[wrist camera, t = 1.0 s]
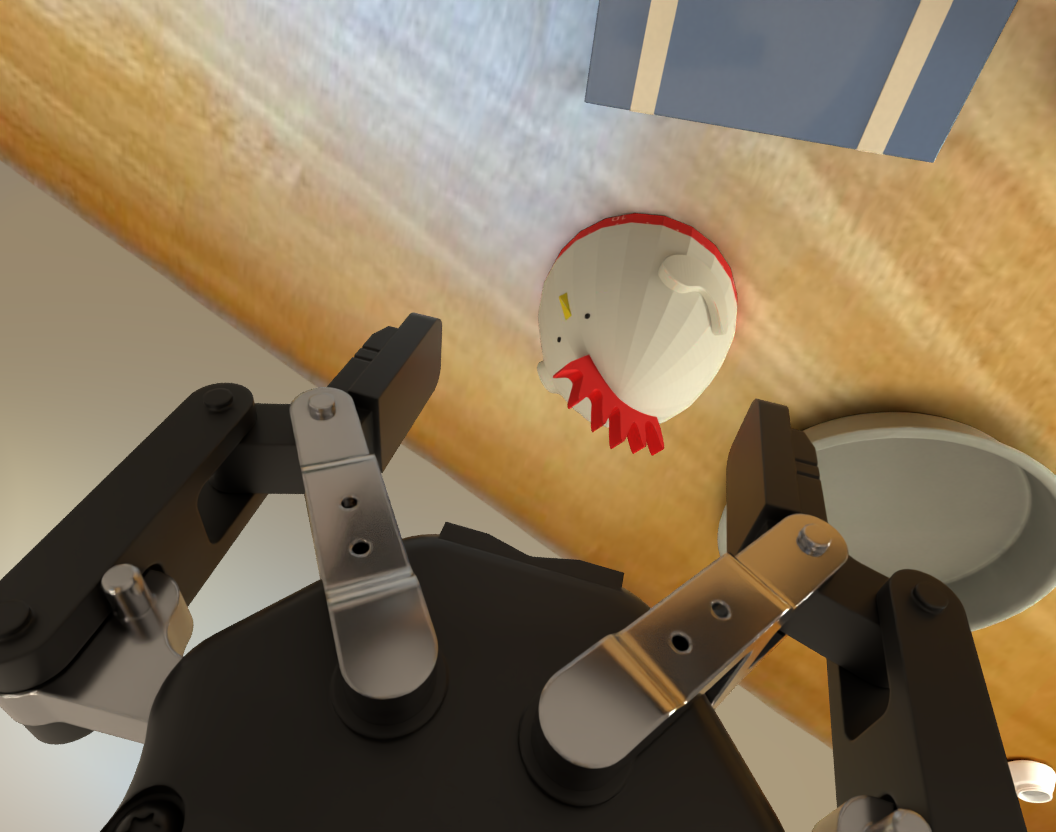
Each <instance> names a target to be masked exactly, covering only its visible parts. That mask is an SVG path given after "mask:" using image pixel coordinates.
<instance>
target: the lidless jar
mask: <svg viewBox="0 0 1056 832" xmlns="http://www.w3.org/2000/svg"><path fill="white" fill-rule="evenodd" d="M1008 765H1009V768H1010V772H1011V776H1012V779H1013V783H1014V786H1015V790H1016V793H1017V796H1018V797H1019V798H1020V799H1022V800H1024V801H1027V802H1033V803H1043V802H1048V801H1050V800H1051V799H1052V793H1053V790H1054V786H1055V780H1056V774H1055V772H1054V771H1053V769H1052V768H1051V767H1049V766H1047V765H1045V764H1042V763H1038V762H1034V761H1028V760H1015V761H1011V762H1008Z"/></svg>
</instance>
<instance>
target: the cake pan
mask: <svg viewBox="0 0 1056 832" xmlns="http://www.w3.org/2000/svg"><path fill="white" fill-rule="evenodd" d="M803 432H805V434H806V435H807V437H808V438H809V440H810V441H811V443H812V444H813V445H814V447H815V449H816V455H817V461H818V465H817V467H819V473H820V479H819V480H821V484H822V490H823V496H824V502H825V508H826V514H827V519H828V524H830V525H831V526H832V527H834V528H835V529H836V530H837V531H838V532H839V533H840V534H841V536H842V537H843V538H844V540H845V542H846V544H847V547H848V551H849V554H848V555H850V556H851V557H852V558H854V559H855V560H857V561H858V562H860V563H862V564H864V565H866V566H868V567H869V568H871V569H873V570H875V571H877V572H879V573H881V574H883V575H885V576H887V577H889V578H890V577H891V576H892V575H893V574H894V573H895V572H896V571H898V570H902V569H914V570H918V571H922V572H924V573H927V574H929V575H931V576H933V577H935V578H937V579H938V580H940V581H941V582H942V583H944V584H945V585H946V586H948V587H949V588H950V589H951V590H952V591H953V592H954V593H955V594H956V596H957V597H958V598H959V600H960V601H961V603H962V605H963V607H964V609H965V612H966V615H967V619H968V623H969V626H970V630H971V632H972V631H975V630H978V629H982V628H985V627H988V626H990V625H993V624H996V623H998V622H1001V621H1003V620H1006V619H1008V618H1010V617H1012V616H1014V615H1016V614H1018V613H1020V612H1022V611H1024V610H1025V609H1027V608H1029V607H1030V606H1032V605H1034V604H1035V603H1037V602H1038V601H1039V600H1041V599H1042V598H1043V597H1045V596H1046V595H1047V594H1048V593H1049V592H1051V591H1052V590H1053V589H1054V588H1055V587H1056V475H1055V474H1053V473H1052V472H1051V471H1050V470H1049V469H1048V468H1046V467H1045V466H1044V465H1042V464H1041V463H1039V462H1038V461H1036V460H1034V459H1033V458H1031V457H1030V456H1028V455H1027V454H1025V453H1023V452H1021V451H1019V450H1017V449H1015V448H1012V447H1010V446H1008V445H1006V444H1003V443H1000V442H998V441H997V440H996V439H994V438H993V437H991V436H989V435H987V434H986V433H984V432H982V431H980V430H978V429H976V428H973V427H971V426H969V425H966V424H963V423H960V422H957V421H954V420H951V419H947V418H943V417H938V416H933V415H926V414H920V413H908V412H878V413H865V414H858V415H852V416H847V417H842V418H838V419H834V420H830V421H827V422H824V423H821V424H818V425H815V426H812V427H810V428H808V429H805V430H803ZM718 549H719V553H720V557H721V556H722V555H723V554H725V553H727V511H726V506H725V509H724V511H723V513H722V516H721V519H720V523H719V528H718Z"/></svg>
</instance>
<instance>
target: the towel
mask: <svg viewBox="0 0 1056 832" xmlns="http://www.w3.org/2000/svg"><path fill="white" fill-rule="evenodd" d="M1017 1H1018V0H599V6H598V13H597V20H596V27H595V34H594V40H593V47H592V54H591V61H590V68H589V74H588V81H587V88H586V95H585V102H586V103H591V104H597V105H603V106H609V107H614V108H620V109H626V110H630V111H634V112H639V113H645V114H651V115H654V114H655V115H660V116H666V117H672V118H678V119H683V120H689V121H695V122H701V123H706V124H712V125H718V126H724V127H730V128H735V129H741V130H747V131H753V132H758V133H764V134H770V135H776V136H781V137H787V138H793V139H799V140H804V141H810V142H816V143H822V144H828V145H833V146H839V147H845V148H851V149H856V150H858V151H864V152H870V153H875V154H881V155H882V154H885V155H891V156H897V157H902V158H908V159H914V160H920V161H925V162H931V163H933V162H934V161H935V159H936V157H937V155H938V153H939V151H940V149H941V147H942V145H943V143H944V142H945V140H946V138H947V136H948V134H949V132H950V130H951V128H952V126H953V124H954V122H955V120H956V119H957V117H958V115H959V113H960V111H961V109H962V107H963V105H964V103H965V101H966V99H967V97H968V95H969V94H970V92H971V90H972V88H973V86H974V84H975V82H976V80H977V78H978V76H979V74H980V72H981V70H982V69H983V67H984V65H985V63H986V61H987V59H988V57H989V55H990V53H991V51H992V49H993V47H994V45H995V44H996V42H997V40H998V38H999V36H1000V34H1001V32H1002V30H1003V28H1004V26H1005V24H1006V22H1007V21H1008V19H1009V17H1010V15H1011V13H1012V11H1013V9H1014V7H1015V5H1016V3H1017Z"/></svg>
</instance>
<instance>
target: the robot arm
mask: <svg viewBox="0 0 1056 832" xmlns="http://www.w3.org/2000/svg"><path fill="white" fill-rule="evenodd" d="M441 344H442V322H441V320H440V319H438V318H434V317H429V316H425V315H421V314H417V313H411V314H410V315H409V316H408V317H407V318H406V319H405V321H404V322H403V323H402V324H401V326H400V327H399V328H394V327H391V326H388V327H386V328H384V329H382V330H380V331H378V332H376V333H374V334H372V335H371V337H370V338H369V339H368V340H367V341H366V342H365V343H364V345H363V346H362V348H360V349H359V350H358V352H357V353H356V354H355V356H354V358H353V357H352V358H351V360H350V361H349V362H348V363H347V364H346V365H345V367H344V368H343V369H342V370H341V371H340V372H339V373H338V375H337V376H336V377H335V378H334V379H333V380H332V382H331V383H330V384H329V385H328V386H327V387H321V388H315V389H311V390H307V391H305V392H303V393H301V394H299V395H298V396H297V397H295V398H294V400H293V401H292V402H291V404H261V403H254V399H253V395H252V393H251V392H250V391H249V389H247V388H246V387H244V386H242V385H238V384H234V383H217V384H212V385H208V386H205V387H203V388H200V389H198V390H196V391H195V392H193V393H192V394H191V395H190V396H189V397H188V398H187V399H186V400H185V401H184V402H183V403H182V404H180V405H179V406H178V408H176V409H175V410H174V411H173V412H172V413H171V414H170V415H169V416H168V417H167V418H166V419H165V420H164V421H163V422H162V423H161V424H160V425H159V426H158V427H157V428H156V429H155V430H154V431H153V432H152V433H151V434H150V435H149V436H148V437H147V438H146V439H145V440H144V441H143V442H142V443H141V444H140V445H138V446H137V448H135V449H134V450H133V452H131V453H130V454H129V455H128V457H126V458H125V459H124V460H123V461H122V462H121V463H120V464H119V465H118V466H117V467H116V468H115V469H114V470H113V471H112V472H111V473H110V474H109V475H108V476H107V477H106V478H105V479H104V480H103V481H102V482H101V483H100V484H99V485H98V486H96V488H95V489H93V490H92V492H90V493H89V494H88V495H87V496H86V497H85V498H84V499H83V500H82V501H81V502H80V503H79V504H78V505H77V506H76V507H75V508H74V509H73V510H72V511H71V512H70V513H69V514H68V515H67V516H66V517H65V518H64V519H63V520H62V521H61V522H60V523H59V524H58V525H57V526H56V527H55V528H53V529H52V530H51V531H50V532H49V533H48V534H47V535H46V536H45V537H44V538H43V539H42V540H41V541H40V542H39V543H38V544H37V545H36V546H35V547H34V548H33V549H32V550H31V551H30V552H29V553H28V554H27V555H26V556H25V557H24V558H23V559H22V560H21V561H20V562H19V563H18V564H17V565H16V566H15V567H14V568H13V569H11V570H10V571H9V572H8V573H7V574H6V575H5V576H4V577H3V578H2V579H1V580H0V707H1V708H2V709H3V710H4V711H5V712H6V713H7V714H8V715H9V716H10V717H11V718H13V720H15V721H16V722H18V723H20V724H23V725H24V726H25V727H26V728H27V729H28V730H29V731H30V732H31V733H32V734H33V735H34V736H35V737H36V738H37V739H38V740H40V741H42V742H44V743H48V744H65V743H69V742H73V741H75V740H78V739H80V738H83V737H85V736H87V735H88V734H90V733H92V732H93V731H98V732H102V733H106V734H109V735H113V736H116V737H121V738H124V739H128V740H131V741H135V742H139V743H143V744H144V747H143V750H142V754H141V758H140V761H139V764H138V767H137V769H136V772H135V775H134V778H133V780H132V782H131V784H130V786H129V789H128V791H127V793H126V795H125V797H124V799H123V801H122V803H121V804H120V806H119V808H118V809H117V811H116V812H115V813H114V815H113V816H112V818H111V819H110V820H109V821H108V823H107V824H106V825H105V826H104V827H103V829H102V830H101V831H100V832H785V831H784V829H783V827H782V825H781V823H780V821H779V819H778V817H777V816H776V814H775V812H774V810H773V809H772V807H771V805H770V804H769V802H768V800H767V799H766V797H765V795H764V794H763V792H762V790H761V788H760V787H759V785H758V783H757V782H756V780H755V778H754V777H753V775H752V773H751V772H750V770H749V768H748V766H747V765H746V763H745V761H744V760H743V758H742V756H741V754H740V753H739V751H738V750H737V748H736V746H735V744H734V743H733V741H732V739H731V738H730V736H729V734H728V733H727V731H726V729H725V728H724V726H723V724H722V722H721V721H720V719H719V717H718V716H717V714H716V712H715V709H716V708H717V706H718V705H719V704H720V703H721V702H722V701H723V700H724V699H725V698H726V697H727V696H728V695H729V694H730V692H731V691H732V690H733V689H734V688H735V686H737V685H738V683H739V682H740V681H741V680H742V679H743V678H744V677H745V676H747V675H748V674H749V673H750V672H751V671H752V670H753V669H754V668H755V667H756V666H757V665H758V664H759V663H760V662H761V661H762V660H763V659H764V658H765V657H766V656H767V655H768V654H769V653H770V652H772V651H773V650H774V649H775V648H776V647H777V646H778V645H779V644H780V643H781V642H782V641H783V640H784V639H785V638H786V637H787V636H790V637H792V638H793V639H795V640H797V641H798V642H800V643H802V644H804V645H805V646H807V647H809V648H810V649H812V650H814V651H815V652H817V653H819V654H820V655H822V656H824V657H826V658H827V672H828V687H829V701H830V715H831V729H832V743H833V757H834V771H835V785H836V800H837V809H836V810H834V811H833V812H831V813H830V814H828V815H827V816H826V817H824V818H823V819H821V820H820V821H819V822H818V823H817V824H816V825H815V826H814V828H813V830H812V832H1027V829H1026V825H1025V822H1024V818H1023V815H1022V811H1021V808H1020V804H1019V800H1018V797H1017V793H1016V790H1015V786H1014V783H1013V779H1012V776H1011V772H1010V768H1009V765H1008V761H1007V758H1006V754H1005V751H1004V747H1003V744H1002V740H1001V736H1000V733H999V729H998V726H997V722H996V719H995V715H994V712H993V708H992V704H991V701H990V697H989V694H988V690H987V687H986V683H985V679H984V676H983V672H982V669H981V665H980V662H979V658H978V655H977V651H976V647H975V644H974V640H973V637H972V633H971V630H970V626H969V623H968V619H967V615H966V612H965V609H964V607H963V605H962V603H961V601H960V600H959V598H958V597H957V596H956V594H955V593H954V592H953V591H952V590H951V589H950V588H949V587H948V586H946V585H945V584H944V583H942V582H941V581H940V580H938V579H937V578H935V577H933V576H931V575H929V574H927V573H924V572H922V571H918V570H914V569H902V570H898V571H896V572H895V573H894V574H893V575H892V576H891V577H890V578H889V577H887V576H885V575H883V574H881V573H879V572H877V571H875V570H873V569H871V568H869V567H868V566H866V565H864V564H862V563H860V562H858V561H857V560H855V559H854V558H852V557H851V556H850V555H848V554H849V551H848V547H847V544H846V542H845V540H844V538H843V537H842V536H841V534H840V533H839V532H838V531H837V530H836V529H835V528H834V527H832V526H831V525H830V524H828V519H827V514H826V508H825V502H824V496H823V490H822V484H821V480H819V479H820V473H819V467H817V465H818V461H817V455H816V449H815V447H814V445H813V444H812V443H811V441H810V440H809V438H808V437H807V435H806V434H805V432H803V431H799V430H795V429H791V424H790V416H789V409H788V407H787V406H784V405H780V404H776V403H772V402H768V401H764V400H760V399H755V400H754V401H753V402H752V404H751V406H750V408H749V410H748V412H747V414H746V416H745V418H744V421H743V423H742V425H741V427H740V429H739V431H738V433H737V435H736V437H735V440H734V442H733V444H732V446H731V449H730V452H729V456H728V460H727V469H726V511H727V553H725V554H723V555H722V556H721V557H719V558H718V559H716V560H715V561H714V562H712V563H711V564H710V565H708V566H707V567H706V568H704V569H703V570H702V571H700V572H699V573H698V574H696V575H695V576H694V577H692V578H691V579H690V580H688V581H687V582H686V583H684V584H683V585H682V586H680V587H679V588H678V589H676V590H675V591H674V592H672V593H671V594H670V595H669V596H667V597H666V598H665V599H663V600H662V601H661V602H659V603H658V604H657V605H655V606H654V607H653V608H650V607H649V606H648V605H647V604H645V603H644V602H643V601H642V600H641V599H640V598H638V597H637V596H635V595H634V594H633V593H631V592H630V591H628V590H626V589H624V588H623V587H622V583H623V576H624V573H623V572H619V571H616V570H612V569H609V568H605V567H602V566H598V565H595V564H591V563H588V562H585V561H581V560H572V559H557V558H542V557H532V556H529V555H526V554H524V553H523V552H521V551H519V550H517V549H515V548H513V547H512V546H510V545H508V544H506V543H504V542H502V541H501V540H499V539H497V538H495V537H493V536H491V535H490V534H487V533H483V532H480V531H476V530H473V529H469V528H466V527H463V526H459V525H456V524H452V523H449V522H445V525H444V527H443V529H442V531H441V533H440V534H427V535H417V536H411V537H407V538H404V539H402V538H401V535H400V531H399V528H398V525H397V522H396V519H395V516H394V512H393V509H392V507H391V503H390V500H389V497H388V493H387V491H386V487H385V484H384V481H383V478H382V475H381V473H383V471H384V470H385V468H386V466H387V465H388V463H389V461H390V460H391V458H392V457H393V455H394V454H395V452H396V450H397V449H398V447H399V446H400V444H401V443H402V441H403V439H404V438H405V436H406V435H407V433H408V431H409V430H410V428H411V427H412V425H413V423H414V422H415V420H416V419H417V417H418V416H419V414H420V412H421V411H422V409H423V408H424V406H425V404H426V403H427V401H428V400H429V398H430V396H431V395H432V393H433V392H434V390H435V388H436V385H437V383H438V379H439V375H440V369H441ZM268 494H304V496H305V501H306V506H307V511H308V517H309V522H310V527H311V532H312V537H313V543H314V548H315V553H316V559H317V564H318V569H319V575H320V580H318V581H316V582H314V583H312V584H310V585H308V586H306V587H304V588H303V589H301V590H299V591H297V592H295V593H293V594H291V595H289V596H287V597H285V598H283V599H281V600H279V601H278V602H276V603H274V604H272V605H270V606H268V607H266V608H264V609H262V610H260V611H259V612H256V613H254V614H253V615H251V616H249V617H247V618H245V619H243V620H241V621H239V622H237V623H235V624H233V625H231V626H229V627H227V628H226V629H224V630H222V631H220V632H218V633H216V634H214V635H212V636H211V637H209V638H207V639H205V640H204V641H202V642H201V643H200V644H198V645H197V646H196V647H194V648H193V649H192V650H191V651H190V652H188V653H187V654H186V655H185V656H184V657H183V653H184V650H185V648H186V645H187V644H188V642H189V639H190V638H191V635H192V631H193V619H192V616H191V614H190V611H189V609H188V606H189V604H190V603H191V602H192V600H193V599H194V597H195V596H196V595H197V593H198V592H199V590H200V589H201V588H202V586H203V585H204V583H205V582H206V581H207V579H208V578H209V576H210V575H211V574H212V572H213V571H214V569H215V568H216V567H217V565H218V564H219V562H220V561H221V560H222V558H223V557H224V555H225V554H226V553H227V551H228V550H229V548H230V547H231V546H232V544H233V542H234V541H235V540H236V538H237V537H238V536H239V534H240V533H241V531H242V530H243V528H244V527H245V526H246V524H247V523H248V522H249V520H250V519H251V517H252V516H253V514H254V513H255V512H256V510H257V509H258V508H259V506H260V505H261V503H262V502H263V500H264V499H265V498H266V496H267V495H268Z"/></svg>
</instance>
